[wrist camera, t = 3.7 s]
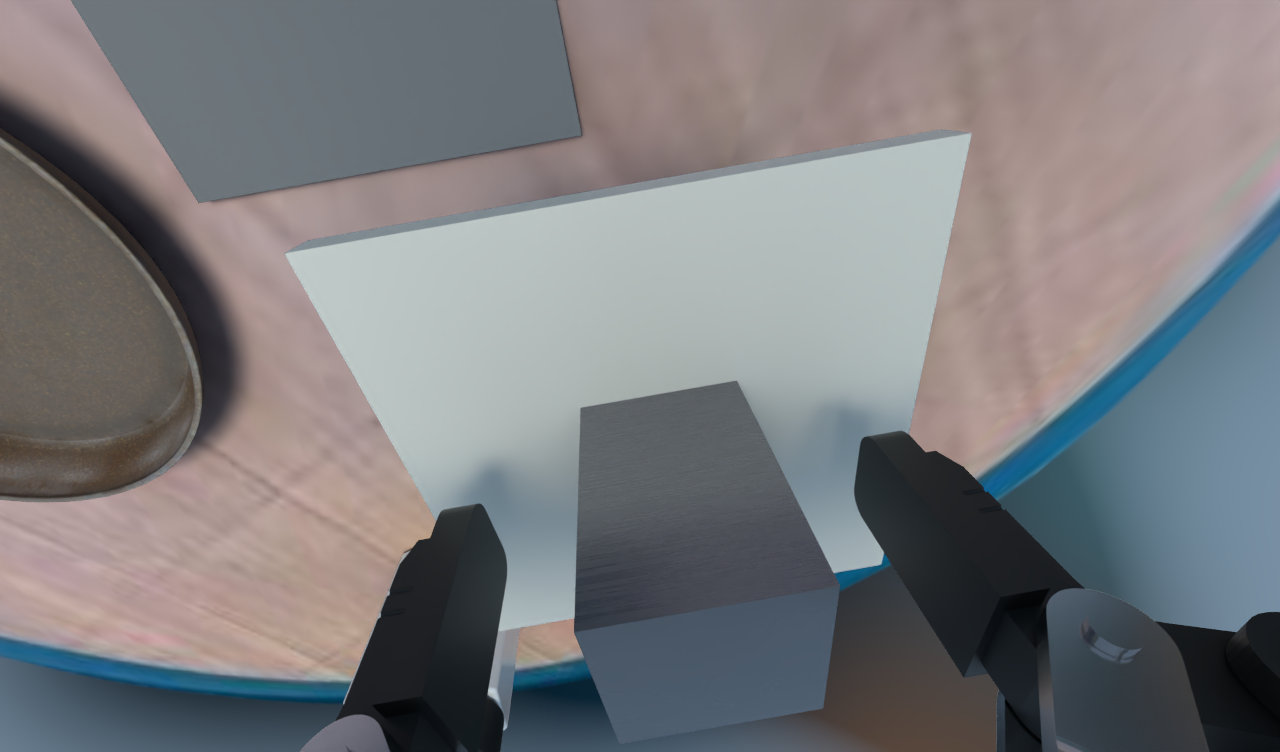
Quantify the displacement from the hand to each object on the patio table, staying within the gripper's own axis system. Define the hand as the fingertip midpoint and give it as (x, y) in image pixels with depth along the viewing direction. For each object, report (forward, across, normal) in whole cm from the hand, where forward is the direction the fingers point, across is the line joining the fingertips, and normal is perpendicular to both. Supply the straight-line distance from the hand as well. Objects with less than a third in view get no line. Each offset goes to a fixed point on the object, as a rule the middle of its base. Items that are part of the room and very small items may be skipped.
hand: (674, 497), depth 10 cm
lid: (+2, 0, 0) cm, 2 cm away
